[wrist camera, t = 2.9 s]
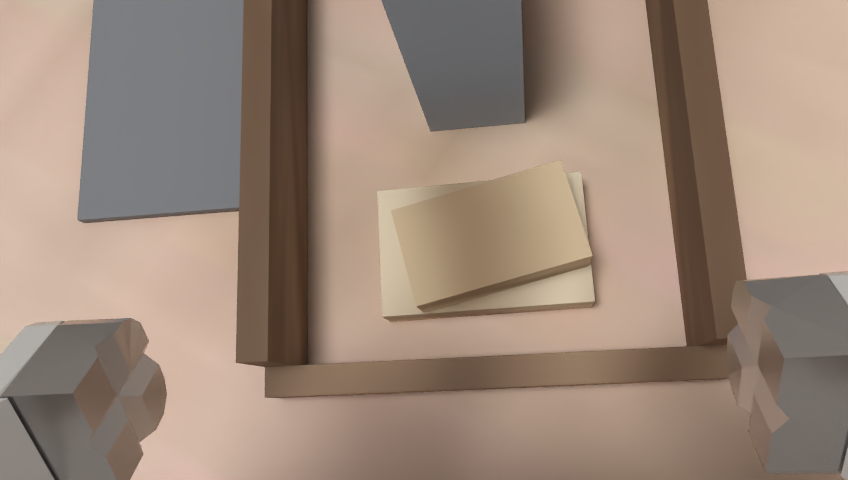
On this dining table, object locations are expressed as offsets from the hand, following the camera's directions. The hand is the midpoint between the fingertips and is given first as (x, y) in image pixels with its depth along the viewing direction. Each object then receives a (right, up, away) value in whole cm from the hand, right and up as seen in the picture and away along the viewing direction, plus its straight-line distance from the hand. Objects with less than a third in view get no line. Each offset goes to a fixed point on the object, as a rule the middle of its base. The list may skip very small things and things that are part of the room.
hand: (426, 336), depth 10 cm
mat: (-10, +8, +19) cm, 23 cm away
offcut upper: (+2, +1, +14) cm, 15 cm away
